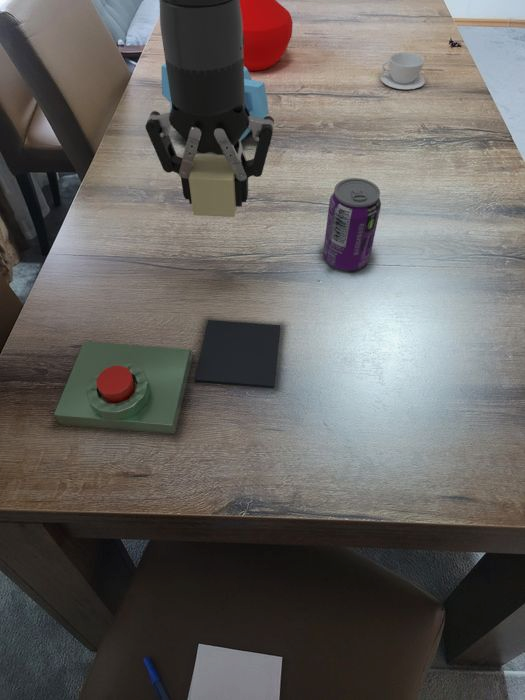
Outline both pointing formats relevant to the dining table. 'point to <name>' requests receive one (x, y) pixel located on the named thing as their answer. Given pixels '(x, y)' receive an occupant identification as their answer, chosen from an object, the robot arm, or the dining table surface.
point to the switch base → (147, 398)
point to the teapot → (252, 90)
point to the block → (212, 186)
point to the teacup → (403, 71)
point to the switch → (115, 383)
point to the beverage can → (351, 223)
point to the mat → (239, 354)
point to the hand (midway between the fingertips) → (216, 200)
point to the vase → (264, 32)
